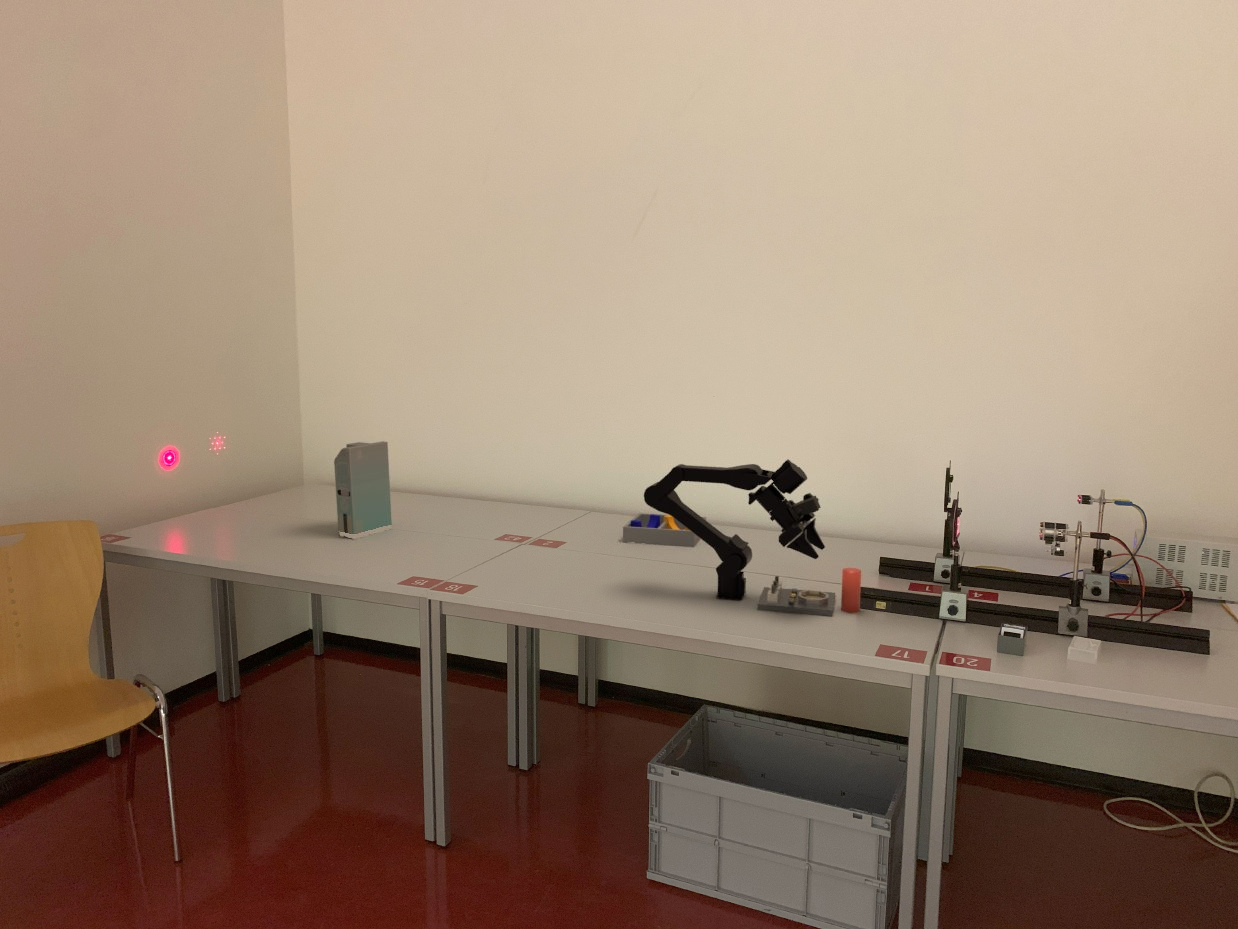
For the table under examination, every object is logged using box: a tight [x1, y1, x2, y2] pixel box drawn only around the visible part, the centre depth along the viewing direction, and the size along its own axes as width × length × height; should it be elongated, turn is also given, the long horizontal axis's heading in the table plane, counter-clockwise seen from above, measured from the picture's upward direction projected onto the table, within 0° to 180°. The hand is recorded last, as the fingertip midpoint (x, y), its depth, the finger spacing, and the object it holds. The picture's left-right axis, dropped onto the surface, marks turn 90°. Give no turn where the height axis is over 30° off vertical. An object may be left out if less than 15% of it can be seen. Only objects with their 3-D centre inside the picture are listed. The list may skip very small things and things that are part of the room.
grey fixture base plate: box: [756, 575, 836, 617], centre depth 223 cm, size 18×14×6 cm
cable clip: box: [630, 513, 661, 528], centre depth 292 cm, size 12×4×6 cm, turn 142°
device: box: [333, 441, 393, 534], centre depth 295 cm, size 16×8×30 cm, turn 148°
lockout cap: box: [840, 567, 862, 614], centre depth 218 cm, size 4×4×10 cm
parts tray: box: [622, 512, 707, 548], centre depth 290 cm, size 23×20×5 cm
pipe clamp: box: [664, 514, 702, 541], centre depth 288 cm, size 12×4×6 cm, turn 47°
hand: (820, 553), depth 219 cm, fingers open, 9 cm apart
